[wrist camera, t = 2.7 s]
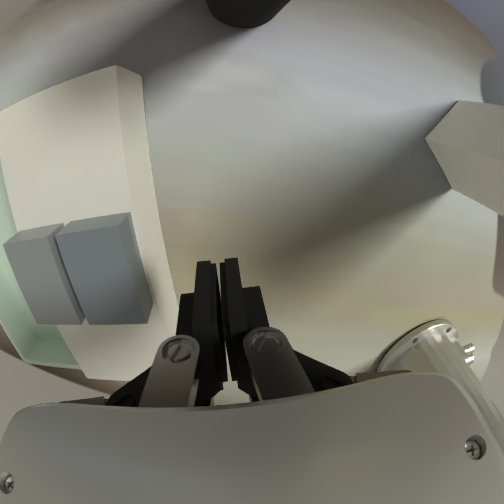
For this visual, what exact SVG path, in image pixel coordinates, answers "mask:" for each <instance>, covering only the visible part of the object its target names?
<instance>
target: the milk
mask: <svg viewBox="0 0 504 504" xmlns="http://www.w3.org/2000/svg"><path fill="white" fill-rule="evenodd" d="M425 140H426V142H427V144H428V145H429V147H430V149H431V150H432V152H433V154H434V156H435V157H436V159H437V161H438V163H439V165H440V166H441V168H442V170H443V172H444V174H445V176H446V178H447V180H448V182H449V184H450V186H451V188H452V189H453V190H455V191H457V192H459V193H461V194H463V195H465V196H467V197H469V198H471V199H473V200H475V201H477V202H479V203H480V204H482V205H484V206H486V207H488V208H490V209H491V210H493V211H495V212H497V213H498V214H500V215H502V216H504V106H499V105H493V104H486V103H479V102H471V101H462V100H459V101H458V102H457V103H456V104H455V105H454V106H453V108H452V109H451V110H450V111H449V112H448V113H447V114H446V115H445V117H444V118H443V119H442V120H441V121H440V122H439V123H438V124H437V125H436V127H435V128H434V129H433V130H432V131H431V132H430V133H429V134H428V135H427V136H426V138H425Z"/></svg>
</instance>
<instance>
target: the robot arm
mask: <svg viewBox="0 0 504 504" xmlns="http://www.w3.org/2000/svg"><path fill="white" fill-rule="evenodd" d="M220 283H221V297H220V290H219V283H218V276H217V269H216V263H214V264H211V261H210V260H209V261H199V262H197V268H196V279H195V290H194V293H187V294H181V298H180V305H179V312H178V319H177V327H176V335H175V336H172V337H169V338H168V339H166V340H164V341H163V342H162V343H161V344H160V346H159V348H158V350H157V353H156V355H155V358H154V361H153V364H152V366H151V367H149V368H148V369H146V370H145V371H144V372H142V373H141V374H140V375H138V376H137V377H135V378H134V379H133V380H131V381H130V382H128V383H127V384H126V385H124V386H123V387H121V388H120V389H119V390H117V391H116V392H114V393H113V394H112V395H111V396H110V397H109V399H105V397H104V396H102V397H95V398H88V399H80V400H72V401H63V402H59V403H46V404H38V405H34V406H30V407H27V408H24V409H22V410H20V411H19V412H17V413H16V414H15V415H14V416H13V417H12V419H11V421H10V422H9V424H8V426H7V428H6V431H5V433H4V435H3V438H2V441H1V443H0V504H504V418H503V416H502V415H501V413H500V412H499V410H498V408H497V407H496V405H495V403H494V402H493V400H492V399H491V397H490V396H489V394H488V393H487V391H486V390H485V388H484V387H483V385H482V384H481V382H480V381H479V379H478V378H477V376H476V375H475V373H474V372H473V371H472V369H471V368H470V366H469V365H470V364H472V363H473V360H474V357H473V354H472V352H473V351H474V345H473V344H472V343H470V344H468V345H465V346H464V347H461V346H460V344H459V343H458V342H457V337H458V334H457V330H456V328H455V326H454V325H453V324H452V323H451V322H449V321H448V320H435V321H431V322H428V323H426V324H424V325H421V326H420V327H418V328H416V329H414V330H413V331H411V332H410V333H408V334H407V335H406V336H404V337H403V338H402V339H401V340H399V341H398V342H397V343H396V344H395V345H394V346H393V347H392V348H391V349H390V350H389V351H388V353H387V354H386V355H385V356H384V358H383V359H382V361H381V362H380V364H379V366H378V368H377V371H376V372H369V373H356V374H355V376H348V375H347V374H345V373H344V372H342V371H340V370H337V369H335V368H333V367H330V366H328V365H326V364H323V363H321V362H319V361H317V360H314V359H312V358H310V357H308V356H306V355H303V354H301V353H299V352H297V351H295V350H293V349H292V347H291V345H290V343H289V341H288V339H287V338H286V336H285V335H284V333H283V332H281V331H280V330H278V329H275V328H272V327H269V323H268V319H267V315H266V310H265V306H264V302H263V298H262V294H261V290H260V287H259V286H256V287H247V288H242V285H241V278H240V271H239V265H238V258H229V259H225V262H223V263H220ZM225 343H226V348H225ZM226 349H227V355H228V360H229V366H230V372H231V377H232V381H237V383H238V388H239V389H240V390H242V391H244V392H245V393H247V394H249V400H250V402H248V403H239V404H228V405H216V406H214V396H215V395H216V394H217V393H218V392H219V391H220V390H223V382H227V381H228V376H227V362H226Z"/></svg>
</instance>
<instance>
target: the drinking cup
mask: <svg viewBox="0 0 504 504" xmlns="http://www.w3.org/2000/svg"><path fill="white" fill-rule="evenodd" d="M289 1H290V0H206V2H207V5H208V7H209V9H210V11H211V13H212V14H213V15H214V16H215V17H216V18H217V19H218V20H219V21H221V22H223V23H225V24H227V25H229V26H233V27H238V28H251V27H256V26H260V25H262V24H265V23H267V22H268V21H270V20H271V19H272V18H273V17H274V16H275V15H276V14H277V13H278V12H279V11H280V10H281V9H282V8H283V7H284V6H285V5H286V4H287V3H288V2H289Z"/></svg>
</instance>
